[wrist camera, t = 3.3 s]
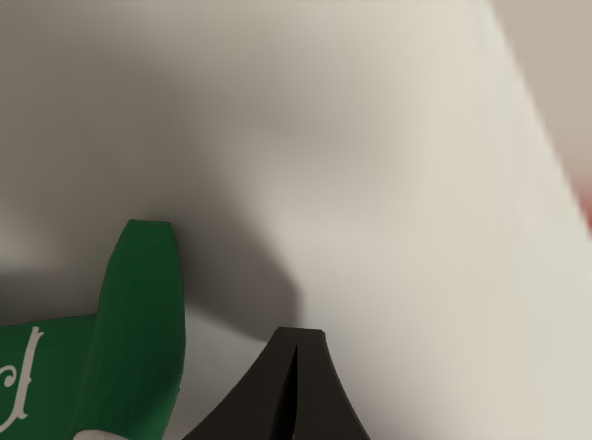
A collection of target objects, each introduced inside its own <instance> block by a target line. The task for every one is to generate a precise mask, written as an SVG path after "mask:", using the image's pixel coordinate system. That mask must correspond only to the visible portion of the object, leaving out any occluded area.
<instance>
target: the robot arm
mask: <svg viewBox="0 0 592 440" xmlns="http://www.w3.org/2000/svg"><path fill="white" fill-rule="evenodd" d="M293 435H294V438H293ZM182 440H371V439H370V438H369V436H368V434H367V433H366V431H365V429H364V428H363V426H362V424H361V422H360V421H359V419H358V417H357V415H356V413H355V411H354V409H353V407H352V406H351V404H350V402H349V400H348V398H347V396H346V393H345V391H344V389H343V387H342V385H341V382H340V380H339V378H338V375H337V373H336V371H335V368H334V365H333V363H332V360H331V357H330V354H329V351H328V347H327V343H326V338H325V333H324V332H323V331H322V330H317V329H302V328H286V327H279V328H278V329H277V330H276V331H275V332H274V334H273V336H272V338H271V339H270V341H269V342H268V344H267V345H266V347H265V348H264V350H263V351H262V353H261V354H260V355H259V357H258V358H257V359H256V361H255V362H254V363H253V365H252V366H251V367H250V369H249V370H248V371H247V373H246V374H245V375H244V376H243V378H242V379H241V380H240V381H239V382H238V383H237V384H236V386H235V387H234V388H233V389H232V390H231V391H230V393H229V394H228V395H227V396H226V397H225V398H224V399H223V400H222V401H221V403H220V404H219V405H218V406H217V407H216V408H215V409H214V410H213V411H212V412H211V413H210V414H209V415H208V416H207V417H206V418H205V419H204V420H203V421H202V422H201V423H200V424H199V425H198V426H196V427H195V428H194V429H193V430H192V431H191V432H190V433H189V434H188V435H186V436H185V437H184V438H183V439H182Z"/></svg>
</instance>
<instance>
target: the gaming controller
mask: <svg viewBox="0 0 592 440" xmlns="http://www.w3.org/2000/svg"><path fill="white" fill-rule="evenodd" d="M185 346H186V336H185V309H184V284H183V278H182V273H181V267H180V261H179V255H178V249H177V243H176V239H175V236H174V232H173V229H172V226H171V224H170V223H164V222H154V221H143V220H134V219H132V220H129V221H128V223H127V225H126V227H125V228H124V230H123V232H122V234H121V236H120V238H119V240H118V243H117V245H116V247H115V249H114V251H113V253H112V256H111V258H110V260H109V262H108V266H107V269H106V273H105V277H104V281H103V285H102V288H101V293H100V300H99V306H98V312H97V314H90V315H82V316H74V317H66V318H58V319H50V320H42V321H36V322H29V323H23V324H16V325H9V326H3V327H0V440H162V437H163V435H164V432H165V430H166V427H167V424H168V422H169V419H170V416H171V413H172V410H173V407H174V404H175V401H176V398H177V395H178V392H179V390H180V387H179V386H180V382H181V378H182V374H183V366H184V356H185Z"/></svg>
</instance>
